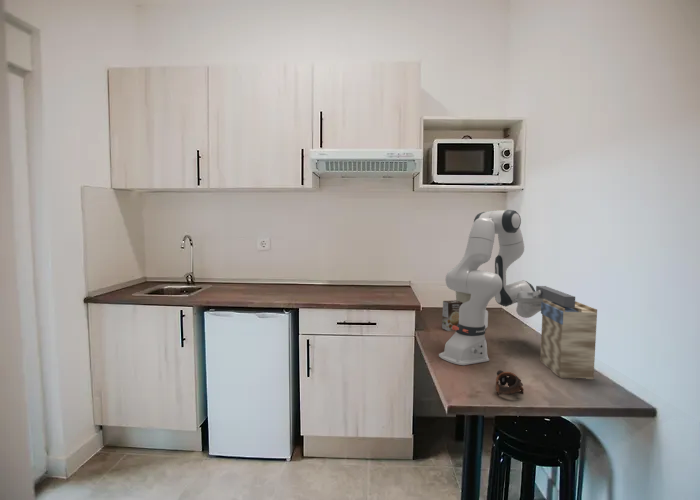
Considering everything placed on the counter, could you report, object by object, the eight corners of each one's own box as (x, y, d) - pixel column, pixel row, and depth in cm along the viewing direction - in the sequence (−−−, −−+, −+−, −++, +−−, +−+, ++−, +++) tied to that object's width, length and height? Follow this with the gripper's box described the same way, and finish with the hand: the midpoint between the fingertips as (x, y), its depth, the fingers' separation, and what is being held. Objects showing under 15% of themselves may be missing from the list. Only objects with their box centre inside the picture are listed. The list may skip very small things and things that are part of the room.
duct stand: (538, 360, 158) (541, 299, 156) (569, 362, 157) (572, 300, 155) (558, 377, 140) (561, 308, 138) (593, 379, 139) (597, 309, 137)
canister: (488, 317, 235) (489, 285, 234) (465, 319, 229) (466, 286, 227) (470, 311, 252) (471, 281, 251) (448, 313, 246) (449, 282, 244)
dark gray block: (574, 307, 140) (575, 296, 140) (564, 306, 140) (564, 296, 140) (544, 294, 166) (545, 286, 165) (535, 294, 166) (536, 285, 166)
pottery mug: (531, 398, 124) (527, 381, 121) (508, 411, 123) (503, 394, 120) (509, 375, 135) (504, 360, 132) (487, 387, 134) (482, 372, 131)
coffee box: (448, 331, 202) (448, 303, 201) (441, 328, 208) (442, 300, 207) (462, 330, 205) (462, 302, 204) (455, 327, 211) (456, 299, 210)
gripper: (511, 294, 174) (521, 284, 161) (556, 296, 172) (569, 285, 159) (513, 307, 171) (524, 298, 158) (558, 308, 169) (572, 299, 157)
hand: (547, 291), depth 159 cm, fingers closed on dark gray block, 4 cm apart
